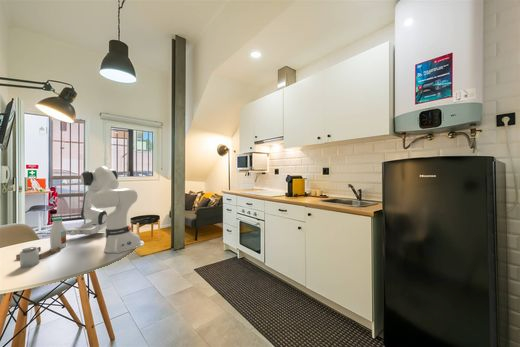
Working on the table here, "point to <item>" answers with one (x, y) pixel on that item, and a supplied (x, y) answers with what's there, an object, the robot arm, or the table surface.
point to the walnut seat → (43, 253)
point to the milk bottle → (57, 234)
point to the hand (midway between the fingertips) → (71, 234)
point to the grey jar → (29, 257)
